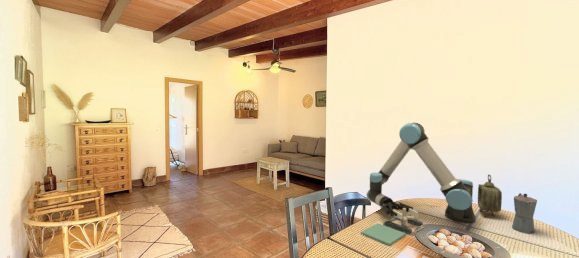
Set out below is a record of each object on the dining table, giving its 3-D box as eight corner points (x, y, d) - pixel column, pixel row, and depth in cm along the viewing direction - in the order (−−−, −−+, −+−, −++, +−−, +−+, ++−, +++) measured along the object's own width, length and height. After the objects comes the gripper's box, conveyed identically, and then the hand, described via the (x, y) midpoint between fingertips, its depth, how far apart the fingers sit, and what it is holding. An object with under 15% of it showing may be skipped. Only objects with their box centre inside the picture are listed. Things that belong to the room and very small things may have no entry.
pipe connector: (416, 231, 138) (416, 212, 137) (396, 229, 140) (396, 211, 139) (411, 223, 148) (411, 205, 147) (392, 221, 150) (393, 204, 149)
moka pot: (518, 234, 133) (520, 196, 132) (505, 222, 147) (506, 188, 146) (541, 237, 130) (544, 198, 128) (526, 224, 144) (528, 189, 143)
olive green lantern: (477, 209, 166) (478, 171, 165) (494, 212, 162) (496, 172, 161) (481, 218, 154) (483, 176, 152) (501, 220, 149) (503, 178, 148)
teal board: (377, 225, 145) (377, 223, 145) (405, 235, 133) (405, 233, 133) (360, 234, 135) (360, 231, 135) (389, 246, 122) (389, 243, 122)
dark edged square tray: (398, 216, 157) (399, 212, 157) (427, 225, 144) (427, 221, 144) (382, 225, 145) (382, 220, 145) (412, 235, 132) (412, 231, 132)
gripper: (399, 206, 163) (426, 220, 142) (368, 209, 158) (391, 225, 136) (399, 194, 163) (427, 207, 141) (368, 197, 157) (392, 211, 136)
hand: (409, 216), depth 139 cm, fingers closed on pipe connector, 9 cm apart
